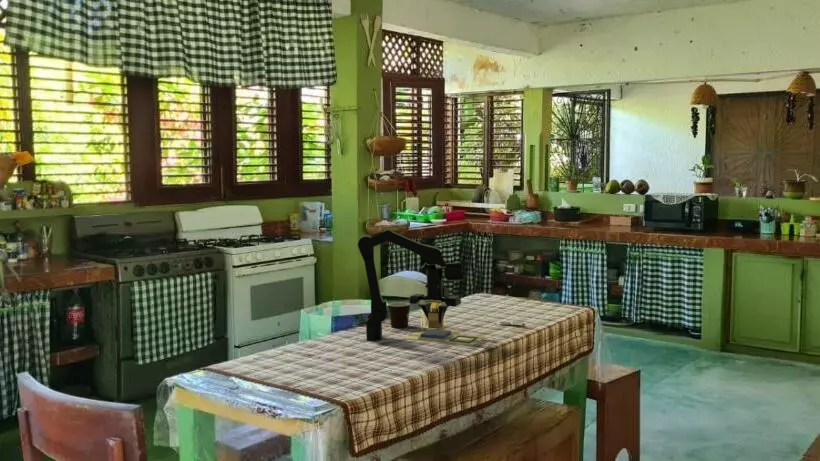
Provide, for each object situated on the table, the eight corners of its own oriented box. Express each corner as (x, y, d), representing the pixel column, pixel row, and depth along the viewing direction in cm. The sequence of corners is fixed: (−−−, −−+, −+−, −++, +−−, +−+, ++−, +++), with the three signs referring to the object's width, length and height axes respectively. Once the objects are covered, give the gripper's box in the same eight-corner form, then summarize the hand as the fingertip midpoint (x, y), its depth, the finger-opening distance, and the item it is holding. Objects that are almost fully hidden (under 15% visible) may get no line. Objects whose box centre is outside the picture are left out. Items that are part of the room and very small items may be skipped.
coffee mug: (401, 332, 295) (400, 307, 294) (384, 330, 300) (383, 305, 299) (419, 326, 304) (418, 302, 303) (402, 324, 309) (401, 300, 308)
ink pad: (443, 341, 275) (442, 336, 275) (418, 339, 279) (417, 334, 279) (453, 335, 284) (453, 330, 284) (429, 333, 288) (429, 328, 288)
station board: (472, 348, 268) (472, 344, 268) (401, 341, 280) (400, 338, 280) (485, 339, 281) (485, 335, 280) (417, 333, 293) (417, 330, 293)
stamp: (438, 328, 279) (437, 310, 278) (428, 328, 280) (427, 309, 280) (442, 326, 282) (442, 307, 282) (432, 325, 284) (432, 307, 283)
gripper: (466, 279, 283) (466, 320, 284) (420, 276, 291) (421, 316, 292) (454, 283, 273) (455, 326, 274) (408, 281, 281) (409, 322, 282)
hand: (435, 323), depth 281 cm, fingers closed on stamp, 4 cm apart
